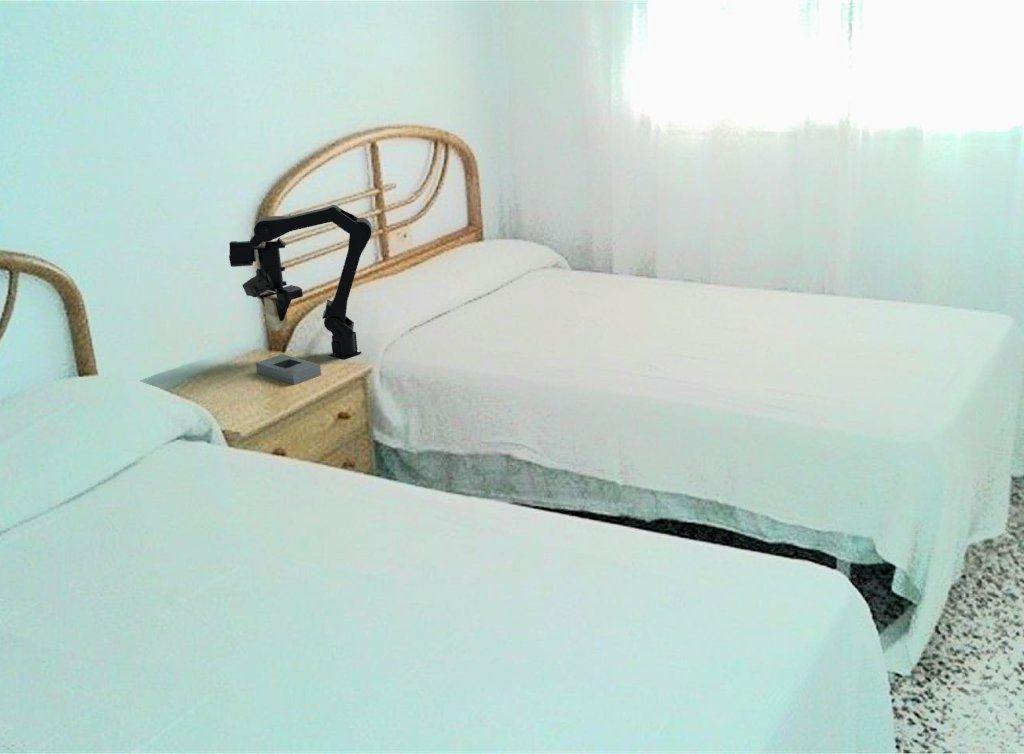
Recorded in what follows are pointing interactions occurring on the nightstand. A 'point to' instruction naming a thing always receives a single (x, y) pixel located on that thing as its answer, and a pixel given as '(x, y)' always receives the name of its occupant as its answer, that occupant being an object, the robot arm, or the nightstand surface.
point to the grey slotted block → (288, 369)
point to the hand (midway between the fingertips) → (276, 319)
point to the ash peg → (273, 315)
